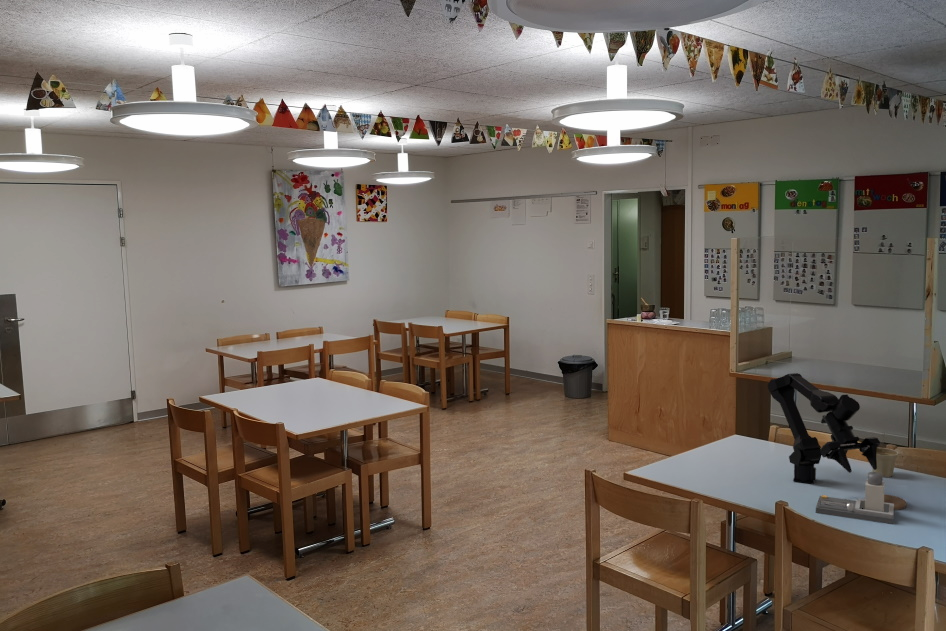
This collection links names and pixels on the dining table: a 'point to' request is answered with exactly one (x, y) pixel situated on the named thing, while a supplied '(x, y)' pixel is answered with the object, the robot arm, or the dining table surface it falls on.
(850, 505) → the lever
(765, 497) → the dining table surface
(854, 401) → the robot arm
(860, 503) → the grey control panel
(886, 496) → the disc
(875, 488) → the white carton with cap
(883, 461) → the flower pot
